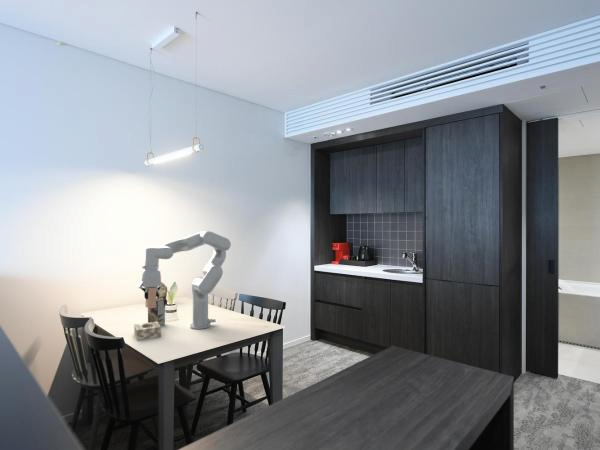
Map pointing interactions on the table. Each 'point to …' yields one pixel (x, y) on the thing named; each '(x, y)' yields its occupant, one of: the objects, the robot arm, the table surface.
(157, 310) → the coffee box
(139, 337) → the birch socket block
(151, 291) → the terracotta peg
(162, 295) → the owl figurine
